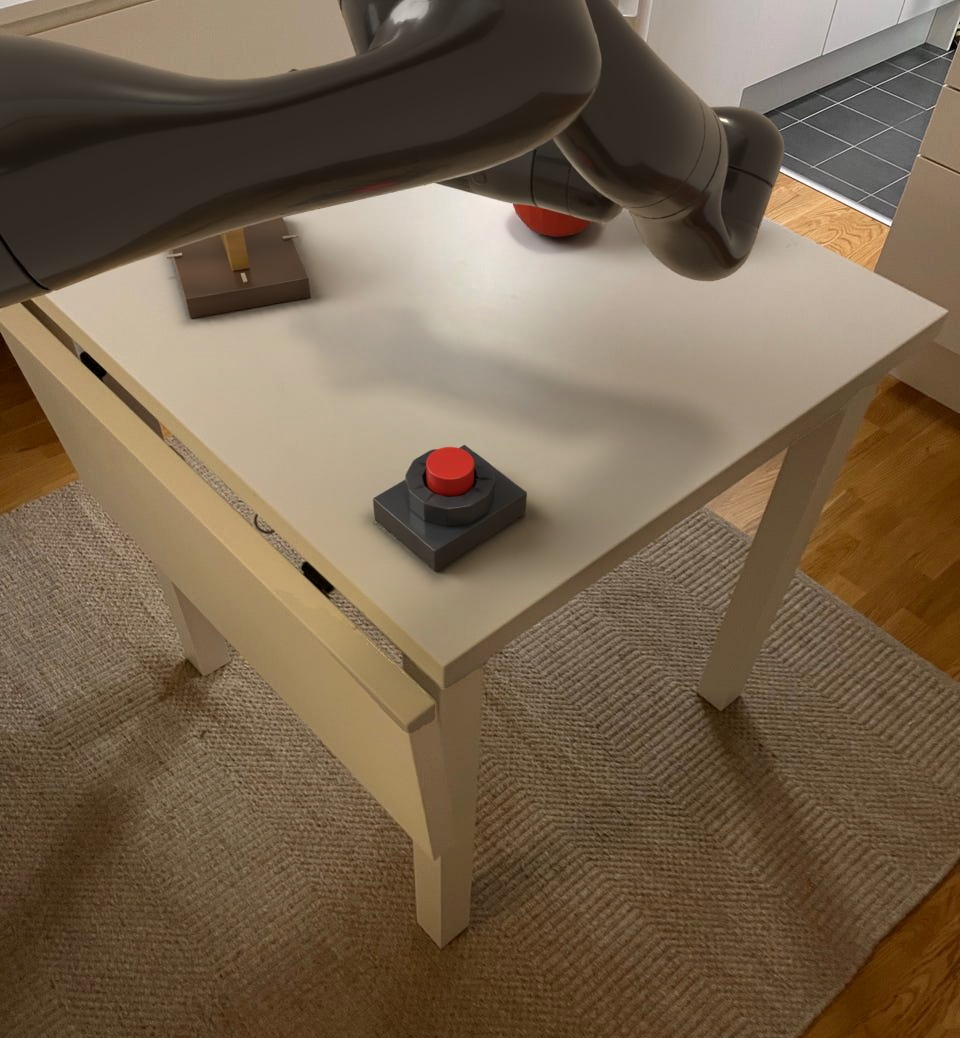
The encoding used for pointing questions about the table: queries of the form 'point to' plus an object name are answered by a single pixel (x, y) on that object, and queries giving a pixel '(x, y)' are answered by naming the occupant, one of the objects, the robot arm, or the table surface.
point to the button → (450, 471)
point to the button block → (448, 511)
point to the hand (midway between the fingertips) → (285, 87)
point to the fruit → (549, 221)
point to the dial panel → (241, 272)
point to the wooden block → (236, 249)
